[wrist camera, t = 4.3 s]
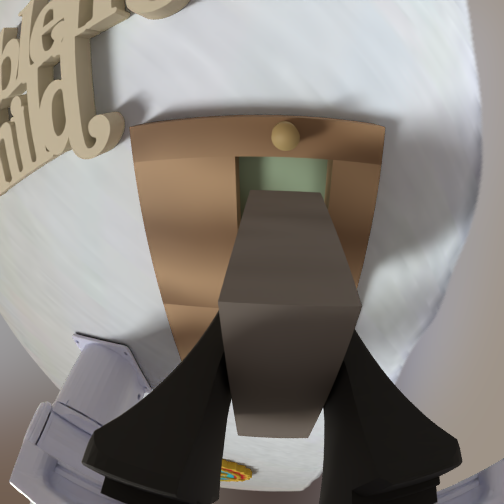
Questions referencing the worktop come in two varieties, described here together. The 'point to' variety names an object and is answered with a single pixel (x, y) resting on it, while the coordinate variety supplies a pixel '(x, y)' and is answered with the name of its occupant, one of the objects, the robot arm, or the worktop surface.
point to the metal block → (285, 313)
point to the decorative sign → (58, 82)
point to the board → (242, 195)
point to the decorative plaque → (234, 472)
